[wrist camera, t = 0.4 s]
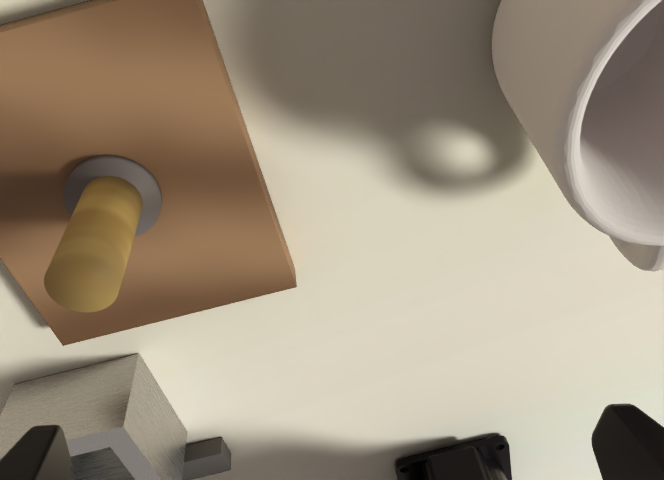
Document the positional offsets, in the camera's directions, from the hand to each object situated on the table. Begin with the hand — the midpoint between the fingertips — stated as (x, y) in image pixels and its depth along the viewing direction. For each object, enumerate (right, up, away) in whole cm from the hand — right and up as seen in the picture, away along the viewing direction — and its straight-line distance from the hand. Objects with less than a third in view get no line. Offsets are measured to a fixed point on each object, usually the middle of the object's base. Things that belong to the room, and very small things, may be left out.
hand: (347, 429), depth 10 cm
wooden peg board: (-8, +5, +12) cm, 15 cm away
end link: (-11, -5, +19) cm, 23 cm away
